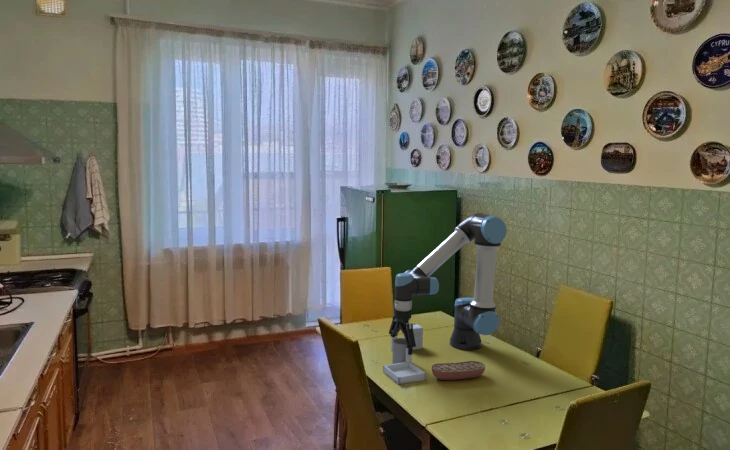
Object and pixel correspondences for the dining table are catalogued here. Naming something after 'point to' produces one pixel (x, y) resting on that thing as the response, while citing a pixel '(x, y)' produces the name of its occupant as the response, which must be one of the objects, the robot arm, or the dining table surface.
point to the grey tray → (404, 372)
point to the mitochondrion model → (458, 370)
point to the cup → (399, 350)
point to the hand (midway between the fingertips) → (401, 356)
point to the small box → (418, 336)
